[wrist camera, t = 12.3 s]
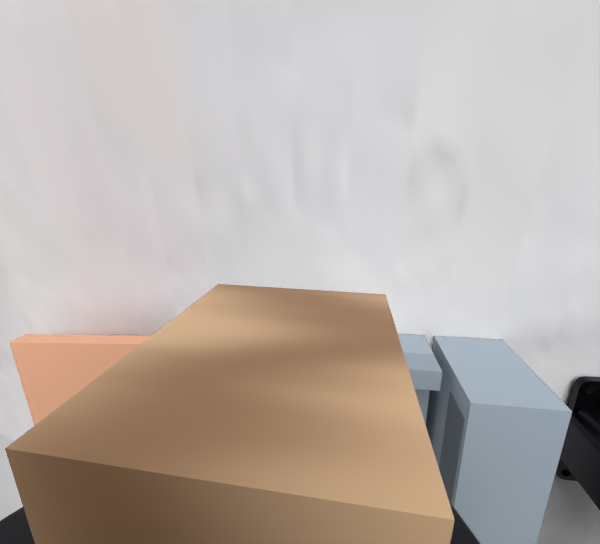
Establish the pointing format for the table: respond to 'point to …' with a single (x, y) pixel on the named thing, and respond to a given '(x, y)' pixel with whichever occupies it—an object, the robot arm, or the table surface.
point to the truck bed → (489, 432)
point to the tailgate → (65, 365)
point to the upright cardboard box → (243, 433)
